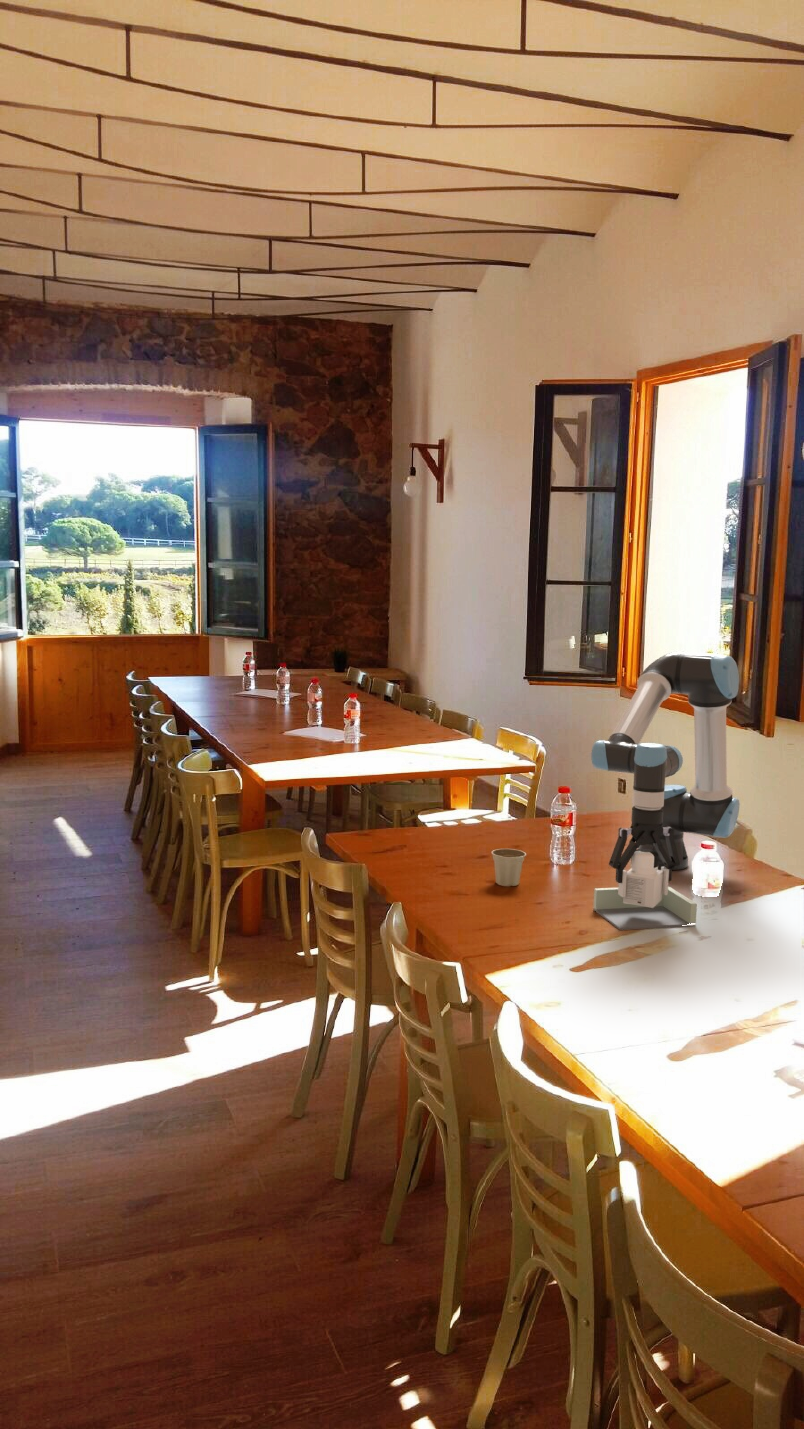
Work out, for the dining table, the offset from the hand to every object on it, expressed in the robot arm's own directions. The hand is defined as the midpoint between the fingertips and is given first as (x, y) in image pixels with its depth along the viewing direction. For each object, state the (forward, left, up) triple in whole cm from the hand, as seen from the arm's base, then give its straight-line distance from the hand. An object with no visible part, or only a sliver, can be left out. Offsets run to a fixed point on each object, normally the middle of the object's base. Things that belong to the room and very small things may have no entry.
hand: (642, 894), depth 282 cm
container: (0, 0, -2) cm, 2 cm away
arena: (-1, -1, -6) cm, 6 cm away
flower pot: (+23, -35, -7) cm, 42 cm away
